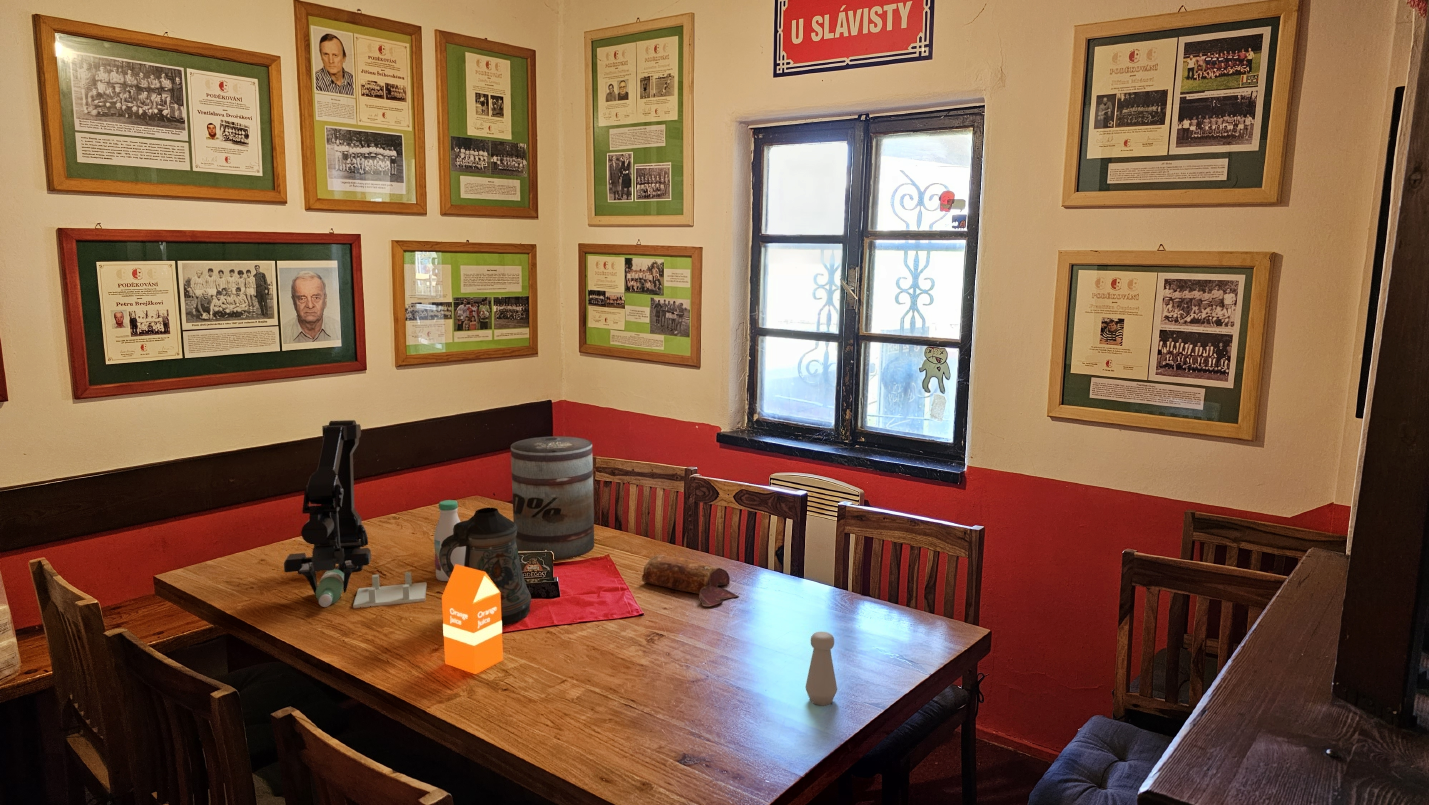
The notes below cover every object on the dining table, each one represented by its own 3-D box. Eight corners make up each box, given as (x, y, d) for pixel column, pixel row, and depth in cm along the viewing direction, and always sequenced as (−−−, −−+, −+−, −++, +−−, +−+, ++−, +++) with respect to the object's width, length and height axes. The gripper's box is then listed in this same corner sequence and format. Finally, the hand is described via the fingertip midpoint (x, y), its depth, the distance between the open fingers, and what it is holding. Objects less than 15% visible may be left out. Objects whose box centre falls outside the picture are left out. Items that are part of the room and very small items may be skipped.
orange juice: (475, 674, 174) (470, 578, 171) (444, 663, 179) (439, 569, 176) (503, 659, 181) (500, 566, 178) (473, 649, 186) (469, 558, 182)
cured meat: (716, 612, 206) (716, 583, 205) (631, 591, 219) (631, 564, 218) (754, 589, 221) (755, 563, 220) (672, 571, 234) (672, 546, 233)
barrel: (501, 544, 254) (497, 442, 249) (571, 530, 267) (568, 433, 263) (535, 566, 236) (532, 456, 231) (608, 549, 250) (606, 446, 245)
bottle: (321, 591, 217) (321, 569, 217) (346, 590, 219) (346, 568, 218) (311, 613, 204) (311, 589, 203) (338, 612, 206) (338, 589, 205)
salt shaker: (803, 693, 167) (804, 628, 165) (832, 692, 168) (834, 627, 165) (808, 708, 161) (810, 641, 159) (839, 707, 162) (841, 640, 160)
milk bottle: (471, 572, 232) (468, 498, 228) (460, 582, 224) (456, 506, 221) (443, 571, 232) (439, 497, 229) (431, 581, 225) (427, 505, 222)
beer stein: (545, 607, 208) (542, 504, 204) (492, 638, 191) (487, 527, 187) (489, 596, 215) (485, 496, 211) (433, 625, 198) (427, 518, 194)
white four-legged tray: (353, 608, 207) (352, 592, 207) (358, 591, 218) (357, 576, 217) (424, 601, 212) (424, 585, 211) (426, 585, 222) (425, 570, 222)
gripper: (277, 545, 201) (282, 610, 204) (364, 538, 206) (368, 601, 209) (286, 531, 212) (291, 593, 214) (369, 524, 217) (373, 585, 219)
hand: (330, 593), depth 214 cm, fingers open, 6 cm apart
